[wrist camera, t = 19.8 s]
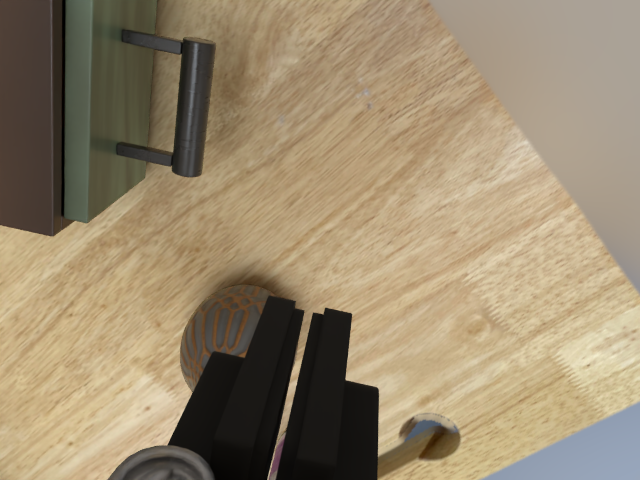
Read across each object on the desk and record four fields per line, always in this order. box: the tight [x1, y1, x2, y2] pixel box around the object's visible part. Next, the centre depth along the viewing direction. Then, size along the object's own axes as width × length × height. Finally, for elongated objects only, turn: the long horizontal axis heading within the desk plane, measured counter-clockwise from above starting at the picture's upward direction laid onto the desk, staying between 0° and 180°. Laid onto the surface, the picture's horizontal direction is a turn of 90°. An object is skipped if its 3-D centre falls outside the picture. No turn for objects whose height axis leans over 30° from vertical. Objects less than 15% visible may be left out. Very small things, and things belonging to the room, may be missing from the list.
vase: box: [180, 285, 298, 392], centre depth 34 cm, size 7×7×9 cm
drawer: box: [61, 0, 216, 223], centre depth 29 cm, size 18×11×7 cm, turn 79°
